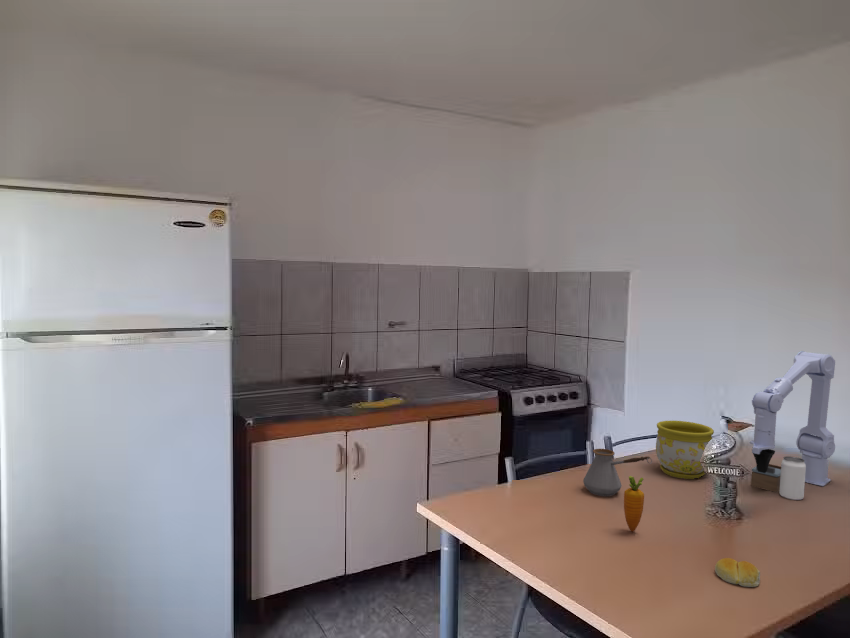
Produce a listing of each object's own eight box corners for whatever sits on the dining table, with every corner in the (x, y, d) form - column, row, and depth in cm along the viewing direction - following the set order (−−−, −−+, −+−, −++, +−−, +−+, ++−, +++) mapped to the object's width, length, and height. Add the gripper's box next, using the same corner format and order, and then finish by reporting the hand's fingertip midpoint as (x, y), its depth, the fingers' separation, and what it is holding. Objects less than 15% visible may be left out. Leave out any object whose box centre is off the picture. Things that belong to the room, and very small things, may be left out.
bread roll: (716, 565, 139) (717, 549, 139) (760, 577, 134) (761, 559, 134) (712, 580, 132) (713, 562, 132) (758, 592, 127) (759, 574, 127)
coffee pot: (575, 490, 186) (577, 443, 185) (596, 483, 193) (598, 437, 192) (637, 512, 169) (640, 460, 168) (658, 503, 177) (661, 453, 176)
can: (796, 493, 188) (799, 456, 188) (807, 501, 182) (810, 462, 181) (775, 492, 189) (777, 455, 188) (785, 499, 183) (788, 461, 182)
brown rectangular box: (766, 476, 204) (767, 463, 204) (791, 482, 199) (792, 469, 199) (750, 485, 195) (751, 471, 194) (776, 492, 189) (777, 478, 189)
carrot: (641, 529, 157) (645, 474, 156) (642, 537, 153) (645, 480, 152) (622, 526, 159) (625, 471, 158) (621, 534, 154) (625, 477, 153)
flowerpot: (650, 463, 216) (652, 418, 215) (703, 467, 212) (706, 422, 211) (659, 479, 198) (662, 431, 197) (717, 484, 195) (720, 435, 194)
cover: (759, 466, 199) (759, 460, 199) (784, 472, 194) (785, 465, 193) (751, 471, 194) (752, 464, 194) (777, 477, 189) (778, 470, 188)
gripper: (759, 424, 196) (756, 464, 197) (742, 430, 187) (740, 473, 188) (783, 428, 191) (780, 469, 192) (767, 435, 181) (764, 479, 182)
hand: (761, 471), depth 190 cm, fingers closed
